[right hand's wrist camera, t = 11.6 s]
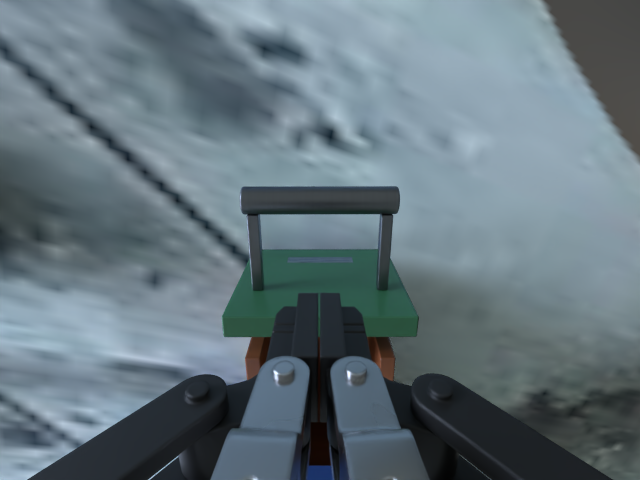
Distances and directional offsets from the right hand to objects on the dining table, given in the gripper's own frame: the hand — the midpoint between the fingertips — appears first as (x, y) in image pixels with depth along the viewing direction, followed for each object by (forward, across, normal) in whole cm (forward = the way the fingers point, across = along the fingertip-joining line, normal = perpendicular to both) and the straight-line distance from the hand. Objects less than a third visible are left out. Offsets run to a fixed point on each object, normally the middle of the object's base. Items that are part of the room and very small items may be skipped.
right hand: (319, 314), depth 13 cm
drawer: (+13, 0, -8) cm, 15 cm away
